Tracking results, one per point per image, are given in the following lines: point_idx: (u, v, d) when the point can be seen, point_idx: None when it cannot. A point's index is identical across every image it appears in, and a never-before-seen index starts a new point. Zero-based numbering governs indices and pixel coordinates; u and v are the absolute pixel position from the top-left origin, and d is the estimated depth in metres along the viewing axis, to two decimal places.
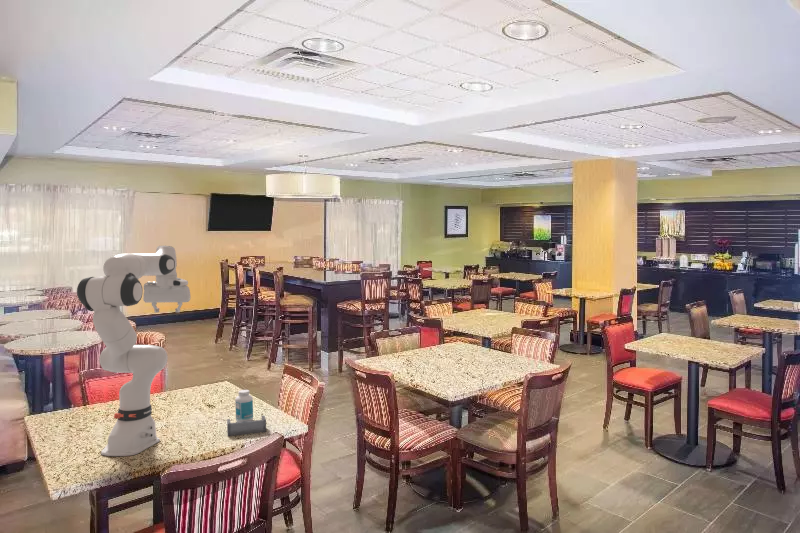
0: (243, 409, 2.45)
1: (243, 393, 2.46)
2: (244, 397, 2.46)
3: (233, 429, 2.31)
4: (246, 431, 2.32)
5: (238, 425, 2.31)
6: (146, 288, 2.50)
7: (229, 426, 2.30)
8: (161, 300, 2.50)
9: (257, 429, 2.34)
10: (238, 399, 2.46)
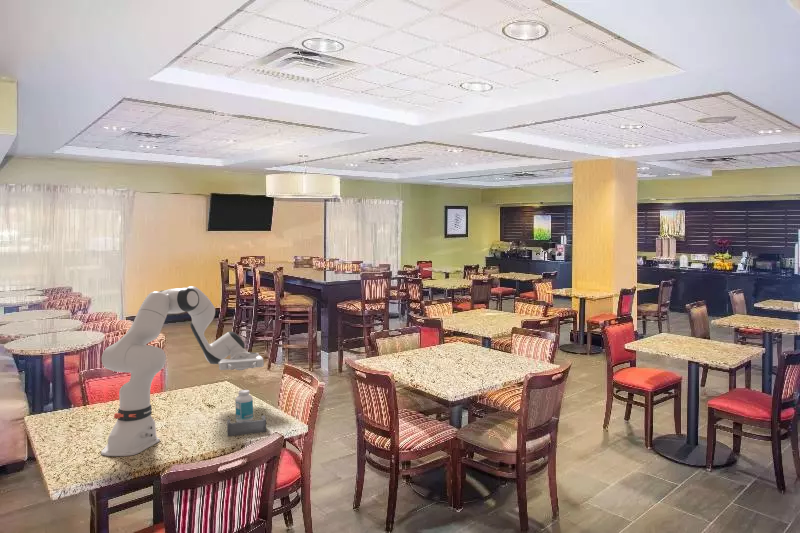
0: (243, 409, 2.45)
1: (243, 393, 2.46)
2: (244, 397, 2.46)
3: (233, 429, 2.31)
4: (246, 431, 2.32)
5: (238, 425, 2.31)
6: (222, 359, 2.63)
7: (229, 426, 2.30)
8: (237, 360, 2.61)
9: (257, 429, 2.34)
10: (238, 399, 2.46)
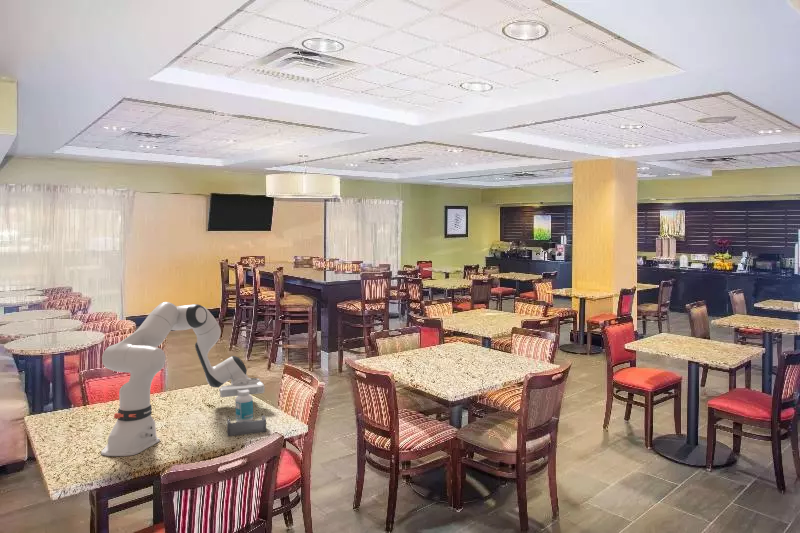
0: (243, 409, 2.45)
1: (243, 393, 2.46)
2: (244, 397, 2.46)
3: (233, 429, 2.31)
4: (246, 431, 2.32)
5: (238, 425, 2.31)
6: (223, 386, 2.64)
7: (229, 426, 2.30)
8: (238, 387, 2.62)
9: (257, 429, 2.34)
10: (238, 399, 2.46)
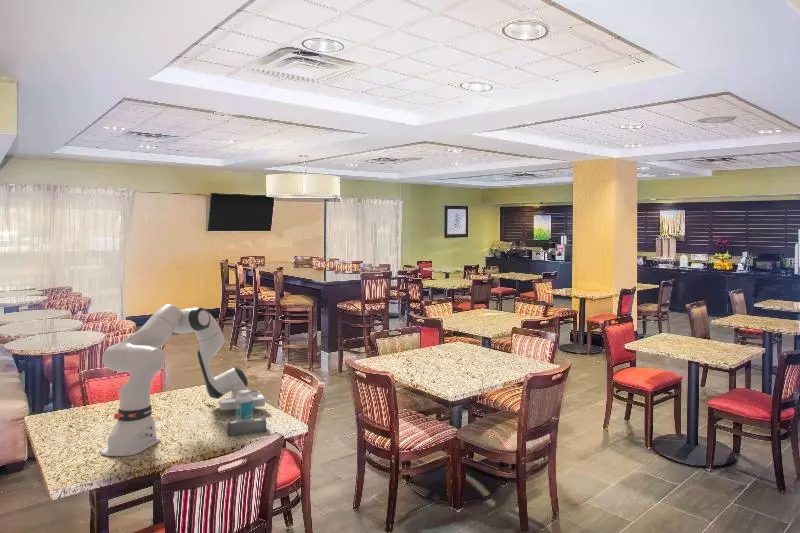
0: (243, 409, 2.45)
1: (243, 393, 2.46)
2: (244, 397, 2.46)
3: (233, 429, 2.31)
4: (246, 431, 2.32)
5: (238, 425, 2.31)
6: (223, 398, 2.60)
7: (229, 426, 2.30)
8: None
9: (257, 429, 2.34)
10: (238, 399, 2.45)
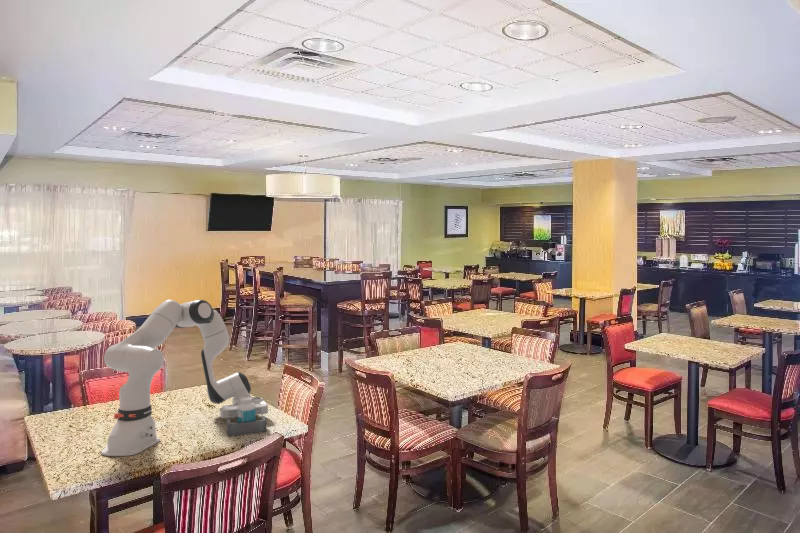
0: (245, 418, 2.33)
1: (245, 401, 2.34)
2: (246, 405, 2.34)
3: (233, 429, 2.31)
4: (246, 431, 2.32)
5: (238, 425, 2.31)
6: (224, 406, 2.48)
7: (229, 426, 2.30)
8: None
9: (257, 429, 2.34)
10: (240, 407, 2.34)
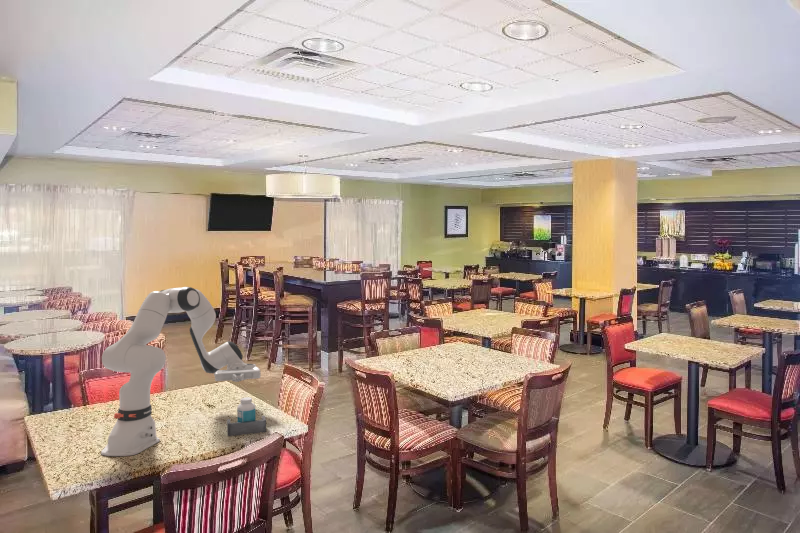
0: (245, 418, 2.33)
1: (245, 401, 2.34)
2: (246, 405, 2.34)
3: (233, 429, 2.31)
4: (246, 431, 2.32)
5: (238, 425, 2.31)
6: (218, 370, 2.58)
7: (229, 426, 2.30)
8: (234, 371, 2.56)
9: (257, 429, 2.34)
10: (240, 407, 2.34)
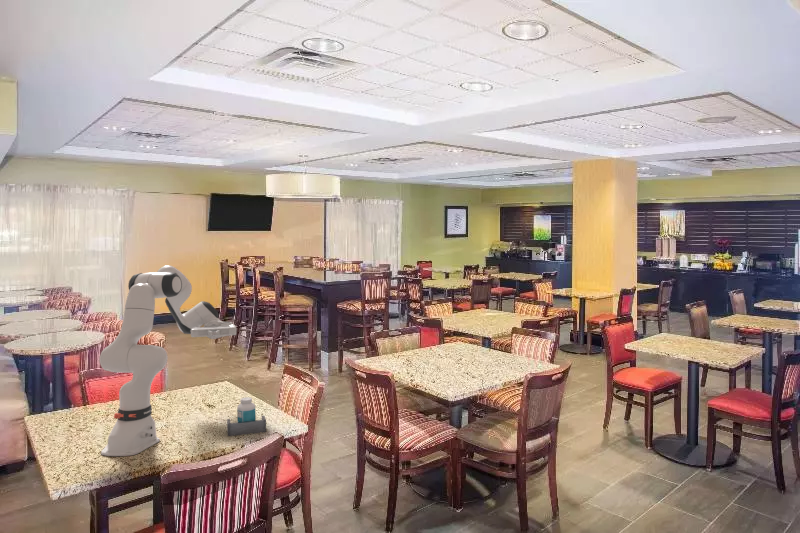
0: (245, 418, 2.33)
1: (245, 401, 2.34)
2: (246, 405, 2.34)
3: (233, 429, 2.31)
4: (246, 431, 2.32)
5: (238, 425, 2.31)
6: (194, 327, 2.62)
7: (229, 426, 2.30)
8: (210, 328, 2.60)
9: (257, 429, 2.34)
10: (240, 407, 2.34)
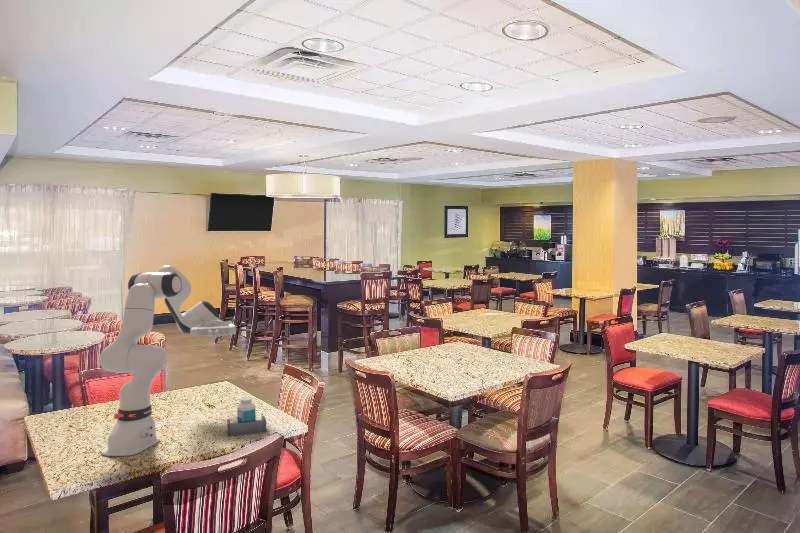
0: (245, 418, 2.33)
1: (245, 401, 2.34)
2: (246, 405, 2.34)
3: (233, 429, 2.31)
4: (246, 431, 2.32)
5: (238, 425, 2.31)
6: None
7: (229, 426, 2.30)
8: (209, 327, 2.60)
9: (257, 429, 2.34)
10: (240, 407, 2.34)
